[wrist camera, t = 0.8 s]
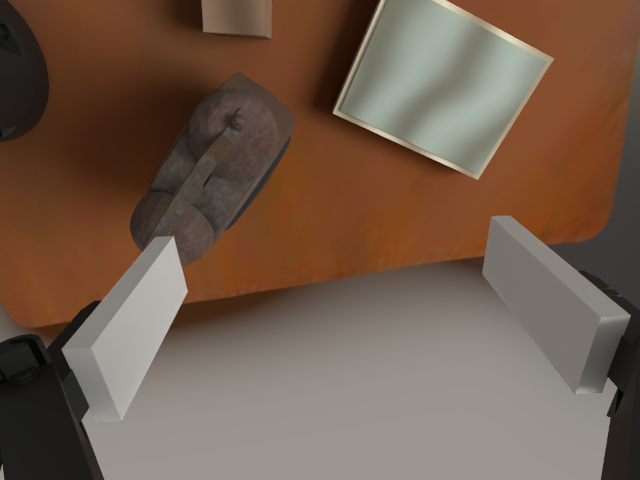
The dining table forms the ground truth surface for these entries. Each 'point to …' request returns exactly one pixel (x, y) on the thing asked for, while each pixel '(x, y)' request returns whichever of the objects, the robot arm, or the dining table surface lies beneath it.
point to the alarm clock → (214, 168)
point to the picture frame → (439, 81)
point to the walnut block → (238, 18)
